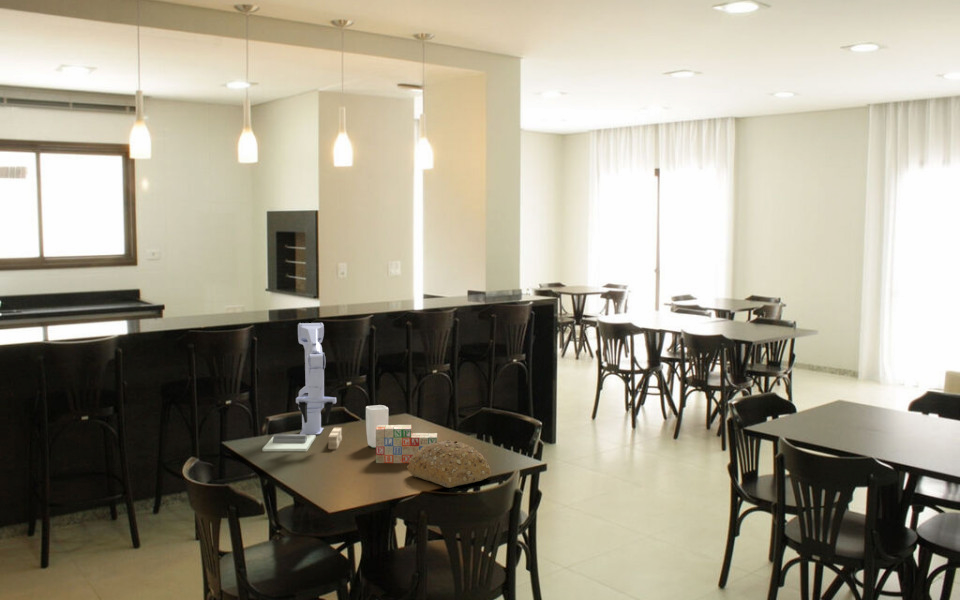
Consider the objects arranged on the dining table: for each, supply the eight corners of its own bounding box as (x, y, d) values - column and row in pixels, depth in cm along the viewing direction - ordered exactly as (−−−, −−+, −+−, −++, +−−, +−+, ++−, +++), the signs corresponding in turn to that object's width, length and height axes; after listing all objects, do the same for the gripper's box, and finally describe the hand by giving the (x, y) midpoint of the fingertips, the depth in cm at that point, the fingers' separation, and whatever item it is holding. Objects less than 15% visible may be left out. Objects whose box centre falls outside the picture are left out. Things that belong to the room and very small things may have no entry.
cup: (371, 449, 299) (371, 410, 298) (364, 445, 305) (364, 406, 304) (389, 447, 302) (389, 408, 301) (382, 443, 309) (382, 404, 307)
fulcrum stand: (274, 437, 315) (274, 428, 315) (315, 437, 316) (315, 428, 315) (262, 451, 295) (262, 441, 295) (306, 451, 296) (306, 441, 295)
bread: (400, 476, 267) (400, 440, 266) (448, 464, 282) (448, 430, 281) (449, 494, 250) (450, 456, 249) (498, 480, 265) (498, 444, 264)
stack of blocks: (437, 458, 289) (437, 424, 288) (436, 463, 282) (437, 428, 281) (377, 458, 288) (377, 424, 287) (375, 463, 282) (375, 428, 281)
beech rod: (334, 440, 313) (333, 427, 313) (341, 440, 313) (341, 427, 313) (328, 449, 299) (328, 436, 299) (336, 449, 299) (336, 436, 299)
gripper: (294, 388, 295) (294, 424, 296) (334, 388, 295) (334, 424, 296) (298, 384, 302) (298, 420, 303) (337, 384, 302) (337, 420, 303)
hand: (316, 422), depth 300 cm, fingers open, 7 cm apart
